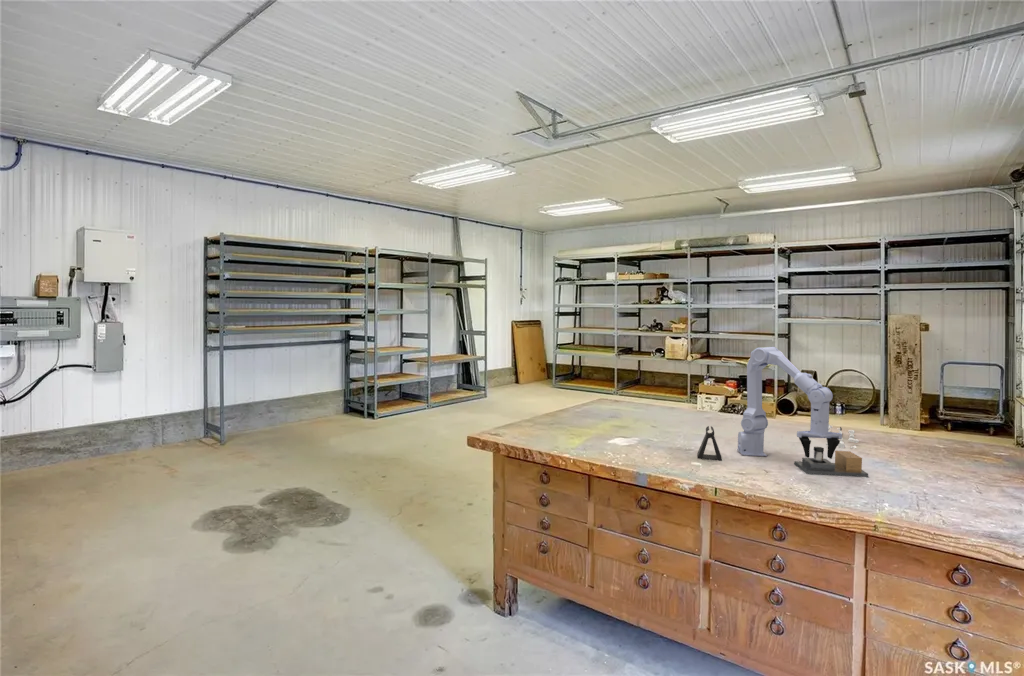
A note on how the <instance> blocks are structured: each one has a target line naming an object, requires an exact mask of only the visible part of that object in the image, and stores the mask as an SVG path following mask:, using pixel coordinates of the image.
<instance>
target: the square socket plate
mask: <svg viewBox="0 0 1024 676" xmlns="http://www.w3.org/2000/svg"><path fill="white" fill-rule="evenodd" d="M834 453H835V456H834V462H831V461H830V460H828V459H827V458H823V463H814V457H809V458H807V457H802V458H801V461H799V460H797V461H796V460H795V461H793V464H794V465H795V466H796V467H797V468H798V469H800V470H801V471H802V472H804V473H805V474H806V475H818V476H819V475H820V476H836V477H837V476H840V477H841V476H842V477H857V478H858V477H861V478H862V477H863V478H865V477H866V478H869V473H868V472H866V471H865V470H863V469H862V468H863V466H862V465H863V458H862V457H860V456H859V455H857V454H855V453H853V451H849V450H848V451H847V450H835V451H834Z"/></svg>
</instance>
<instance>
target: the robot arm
mask: <svg viewBox="0 0 1024 676" xmlns="http://www.w3.org/2000/svg"><path fill="white" fill-rule="evenodd" d="M768 365H773V366H777V367H779V368H780V369H781V370H783V371H784V372H785V373H787V374H788V375H789V376H790V377H791V378H793V383H794V385H796V387H798V388H799V389H800V390H801V391H802V392H803V393H804V394H806V395H807V399H808V401H809V402H810V425H809V426H810V430H799V431H796V437H798V439H799V441H800V443H801V445H802V448H803V452H804V457H805V458H810V455H811V454H810V447H811V442H812V440H810V439H811V438H812V439H826V443H827V444H828V445H827V458H829V459H831V460H832V459H833V455H834V453H835V451H836V449H837V448H838V444H839V443H840V441H841V439H842V438H843V433H842V434H841V433H839V432H835V431H834V432H833V431H830V432H828V430H829V425H830V423H829V422H830V402H831V401H832V400H833V397H834V394H833V392H832V391H831V389H830V388H829V387H826V386H823V384H822V383H819V382H818V381H817V380H816V379H814V378H813V374H811V373H807V372H802V371H800V370H799V368H797V367H796V365H794V364H793V363H792V362H791V361H790V360H789V358H787V357H786V356H785V355H784V352H782V351H781V350H780V349H778V348H777V347H776V346H766V347H765V346H764V347H761V346H760V347H756V348H755V349H753V350H752V351H751V352H750V358H749V359H748V361H747V364H746V395H747V396H746V401H747V403H746V406H747V408H746V409H745V410H744V411H743V413H742V419H741V421H740V426H741V428H742V430H743V431H738V434H737V450H736V451H738V453H739V454H740V455H741V456H751V457H752V456H754V457H755V456H756V457H757V456H758V457H767V456H768V454H766V453H765V452H764V449H765V447H764V445H765V443H764V442H765V431H766V429H767V427H768V426H769V420H768V418H767V414H766V413H767V412H766V411H765V410H764V409H763V369H765V368H766V367H767V366H768ZM842 440H843V439H842Z"/></svg>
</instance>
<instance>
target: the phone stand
mask: <svg viewBox="0 0 1024 676" xmlns="http://www.w3.org/2000/svg"><path fill="white" fill-rule="evenodd" d="M710 429H711V432H708V431H710ZM709 439H711V440H712V443H713V448H714V449H713V450H714V452H715V454H705V451H706V447H707V445H708V442H709ZM696 454H697V456H696V457H697V459H698V460H710V461H723V458H722V454H721V451H720V449H719V445H718V443H717V440H716V438H715V429H714V427H713V426H712V425H711V426H710V427H709V425H708V426H706V428H705V435H704V436H703V439H702V442H701V444H700V447H699V449H698V451H697V453H696Z"/></svg>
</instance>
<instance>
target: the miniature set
mask: <svg viewBox="0 0 1024 676" xmlns="http://www.w3.org/2000/svg"><path fill="white" fill-rule="evenodd" d="M831 429H833V425H830V424H829V430H828V432H831ZM837 430H838V433H841V434H842V435H843V431H842V430H843V427H841V426H840V427H837V428H836V431H837ZM847 432H848V433H849V435H848V437H849V438H847V442H850V443H857V444H858V443H859V442H860V440H859V439H857V438H855V434H856V432H855V429H848V431H847ZM843 440H844V438H843V437H842V439H840V443H839V444H838V446H837V448H838V449H845V448H846V447H845V442H844V441H843ZM825 445H826V446H828V444H827V442H826V443H825ZM850 449H857V445H855V444H854V445H853V446H850Z"/></svg>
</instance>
